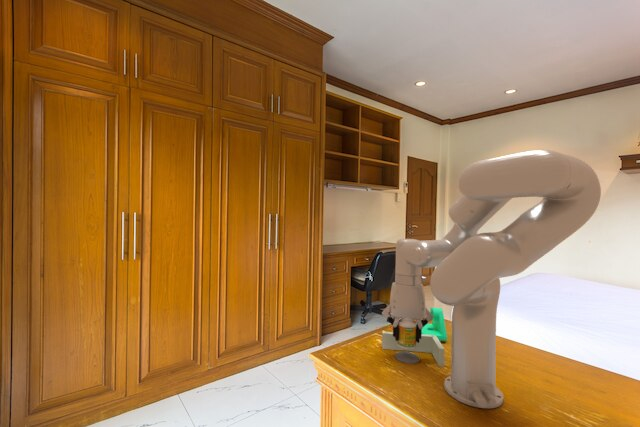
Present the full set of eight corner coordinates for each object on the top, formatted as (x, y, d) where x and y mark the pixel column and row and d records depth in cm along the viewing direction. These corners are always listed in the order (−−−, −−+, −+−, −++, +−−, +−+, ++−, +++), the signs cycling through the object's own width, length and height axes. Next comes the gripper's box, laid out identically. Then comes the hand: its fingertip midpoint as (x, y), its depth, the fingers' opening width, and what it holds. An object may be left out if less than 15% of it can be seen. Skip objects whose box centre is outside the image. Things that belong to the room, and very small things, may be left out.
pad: (421, 364, 85) (421, 363, 85) (396, 362, 86) (396, 361, 86) (416, 353, 92) (417, 352, 92) (393, 351, 93) (393, 350, 93)
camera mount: (415, 329, 113) (415, 302, 113) (435, 330, 112) (436, 303, 112) (423, 342, 101) (424, 312, 101) (446, 344, 100) (447, 313, 100)
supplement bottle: (404, 350, 86) (405, 317, 86) (393, 343, 91) (394, 311, 91) (419, 348, 88) (420, 315, 88) (408, 341, 93) (408, 310, 93)
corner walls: (444, 366, 84) (444, 349, 84) (384, 361, 86) (384, 344, 86) (435, 351, 94) (435, 335, 94) (381, 346, 97) (382, 331, 97)
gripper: (434, 278, 92) (433, 337, 92) (378, 275, 95) (377, 332, 94) (440, 284, 85) (439, 347, 84) (379, 280, 87) (378, 342, 87)
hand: (406, 339), depth 89 cm, fingers closed on supplement bottle, 5 cm apart
